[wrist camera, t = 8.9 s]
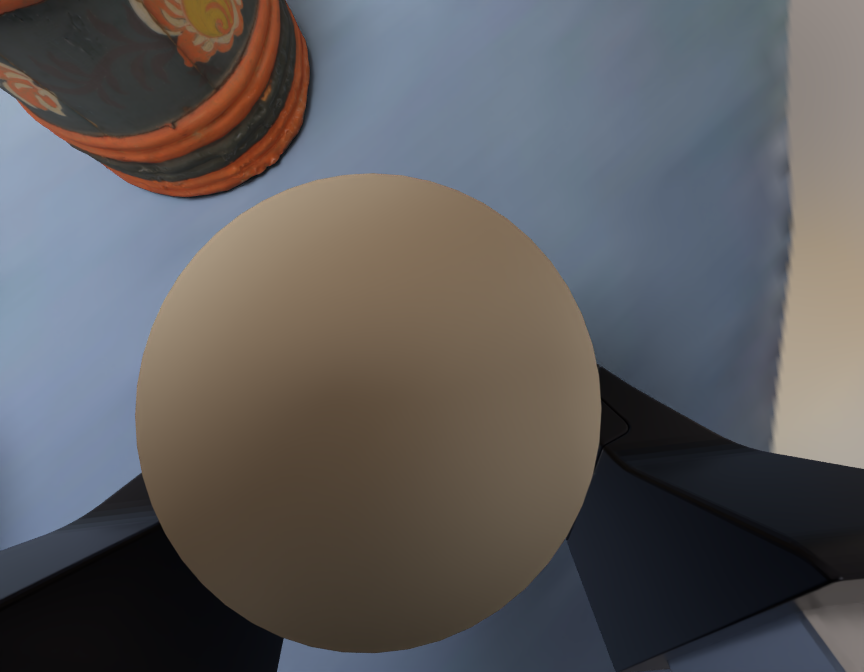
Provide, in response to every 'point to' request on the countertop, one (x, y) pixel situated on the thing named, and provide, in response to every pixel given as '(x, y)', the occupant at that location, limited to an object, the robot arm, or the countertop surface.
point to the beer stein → (161, 84)
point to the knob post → (368, 413)
